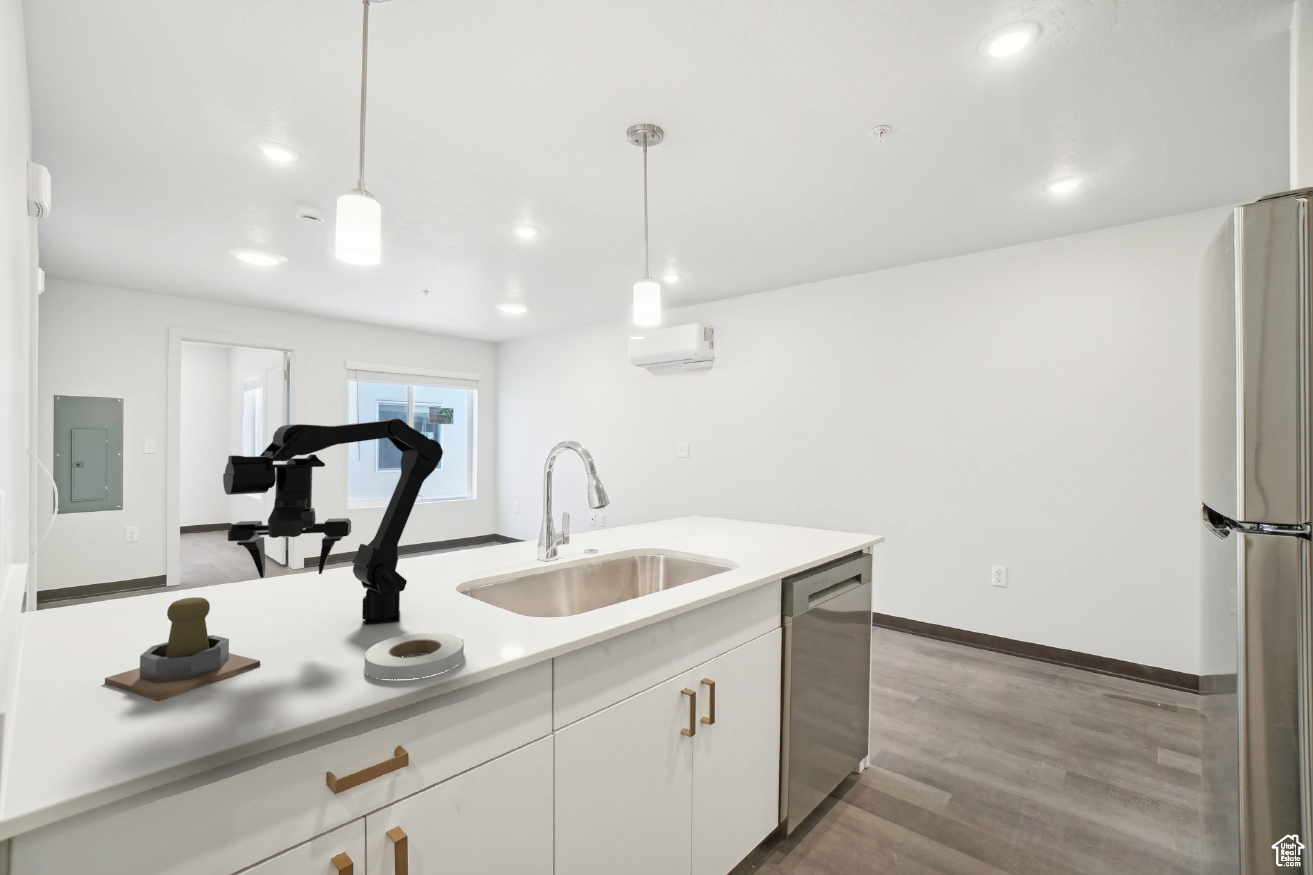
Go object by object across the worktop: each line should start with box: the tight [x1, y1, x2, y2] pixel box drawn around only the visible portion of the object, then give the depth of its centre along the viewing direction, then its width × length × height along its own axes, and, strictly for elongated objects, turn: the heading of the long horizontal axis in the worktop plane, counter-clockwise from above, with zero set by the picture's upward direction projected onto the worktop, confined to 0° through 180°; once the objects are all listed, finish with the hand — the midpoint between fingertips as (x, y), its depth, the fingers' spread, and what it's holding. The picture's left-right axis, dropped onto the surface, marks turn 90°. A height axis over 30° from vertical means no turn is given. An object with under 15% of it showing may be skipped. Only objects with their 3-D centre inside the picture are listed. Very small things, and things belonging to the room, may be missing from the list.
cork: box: [165, 597, 211, 657], centre depth 90 cm, size 6×6×11 cm
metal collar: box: [139, 634, 230, 684], centre depth 90 cm, size 10×10×4 cm
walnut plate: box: [104, 652, 261, 702], centre depth 90 cm, size 14×14×1 cm
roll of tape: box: [364, 632, 465, 680], centre depth 96 cm, size 16×15×3 cm
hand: (292, 575), depth 106 cm, fingers open, 9 cm apart
